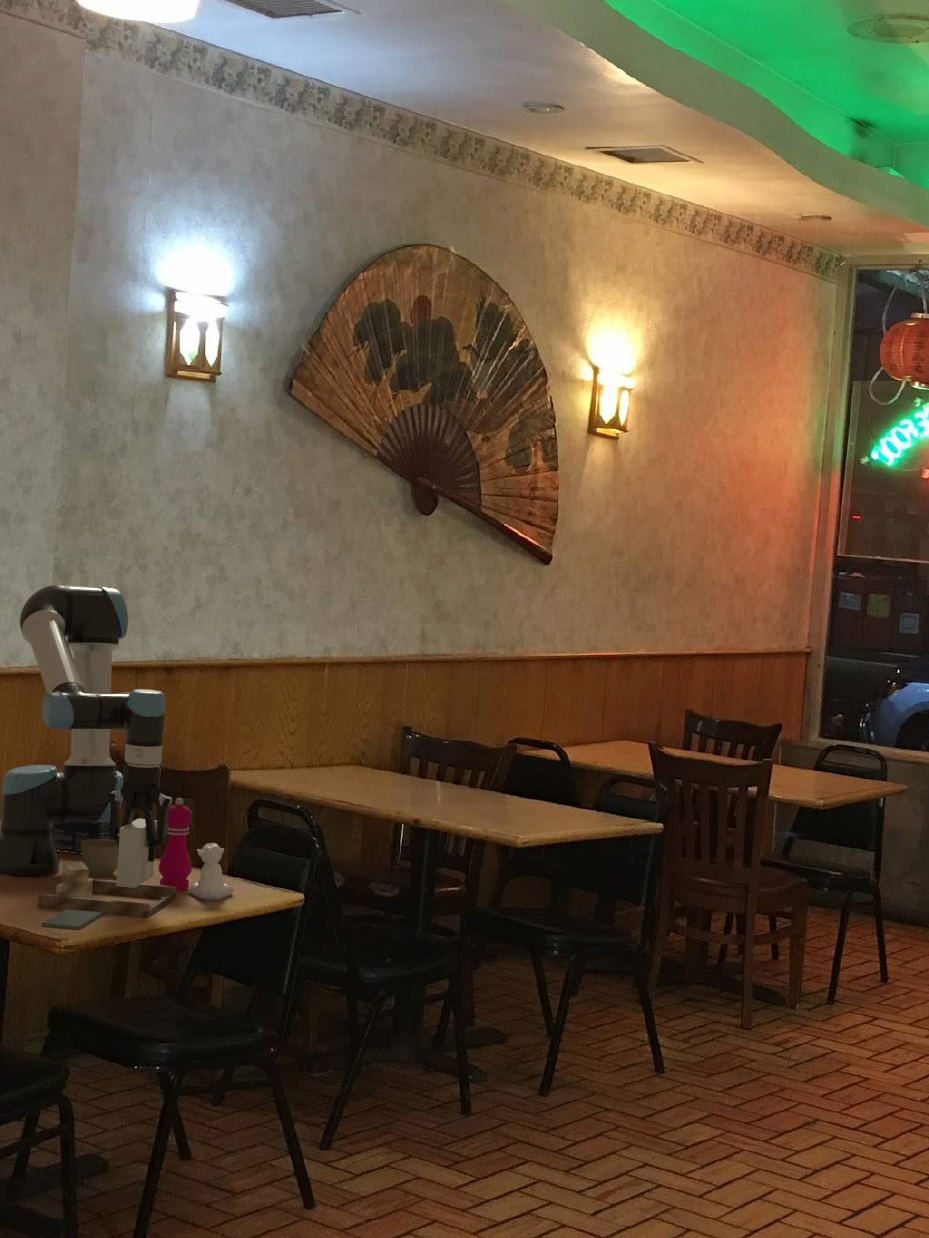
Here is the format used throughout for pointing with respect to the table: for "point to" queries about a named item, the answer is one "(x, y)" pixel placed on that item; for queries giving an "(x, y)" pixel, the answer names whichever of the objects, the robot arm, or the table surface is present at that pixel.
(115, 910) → the wooden tray
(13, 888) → the table surface
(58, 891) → the offcut low
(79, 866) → the offcut top
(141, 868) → the block
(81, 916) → the mat
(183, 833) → the pepper mill
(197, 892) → the seated beast figurine
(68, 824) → the small box
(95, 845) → the flower pot
